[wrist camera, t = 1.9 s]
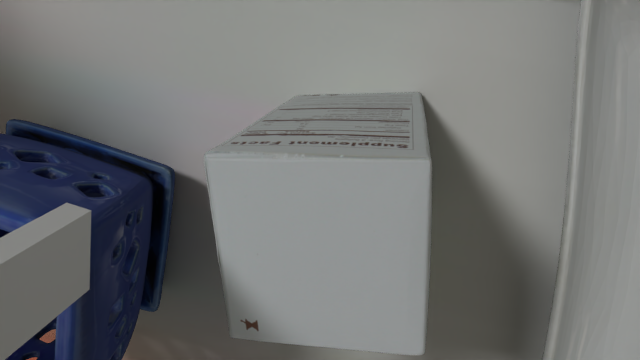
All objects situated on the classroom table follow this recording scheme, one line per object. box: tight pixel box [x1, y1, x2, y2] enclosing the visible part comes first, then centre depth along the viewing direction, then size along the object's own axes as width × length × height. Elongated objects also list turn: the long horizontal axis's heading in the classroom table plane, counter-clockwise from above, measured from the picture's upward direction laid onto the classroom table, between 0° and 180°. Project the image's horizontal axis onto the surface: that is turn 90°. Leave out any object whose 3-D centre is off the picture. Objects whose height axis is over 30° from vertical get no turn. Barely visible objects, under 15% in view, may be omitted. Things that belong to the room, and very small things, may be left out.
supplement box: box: [204, 92, 432, 355], centre depth 20 cm, size 7×7×13 cm
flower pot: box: [0, 119, 175, 360], centre depth 25 cm, size 13×13×12 cm
